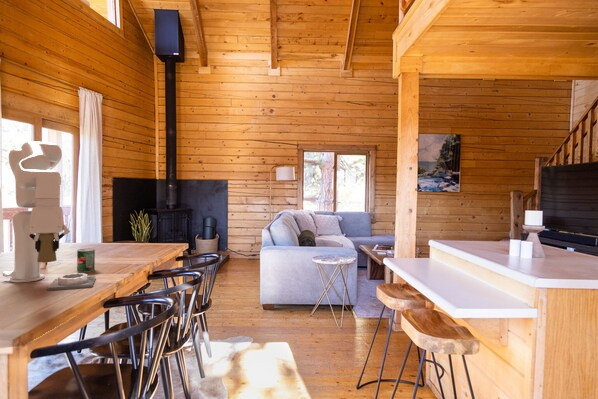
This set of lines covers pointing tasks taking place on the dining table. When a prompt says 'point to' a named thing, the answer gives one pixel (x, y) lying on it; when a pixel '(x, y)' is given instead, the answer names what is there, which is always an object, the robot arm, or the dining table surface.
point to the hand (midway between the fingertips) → (47, 250)
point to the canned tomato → (85, 260)
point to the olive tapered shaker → (46, 248)
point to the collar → (72, 282)
